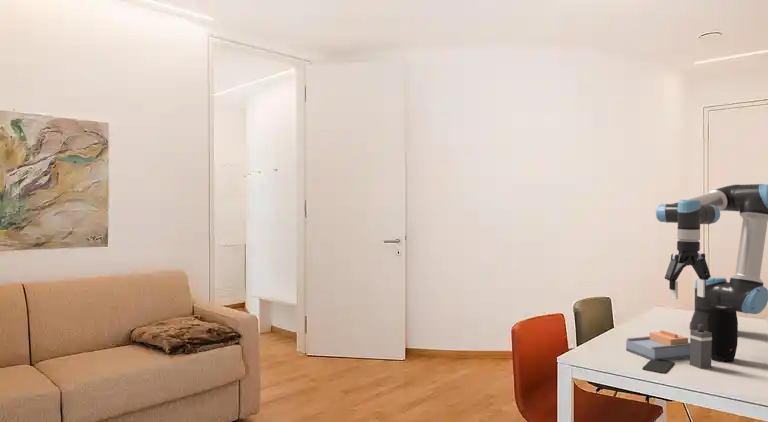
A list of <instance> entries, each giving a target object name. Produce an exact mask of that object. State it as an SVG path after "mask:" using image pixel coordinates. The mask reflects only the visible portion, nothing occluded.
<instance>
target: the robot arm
mask: <svg viewBox="0 0 768 422" xmlns="http://www.w3.org/2000/svg"><path fill="white" fill-rule="evenodd" d="M721 212H739V216H740V217H741V218H742V223H741V230H740V231H741V232H740V238H739V243H738V244H739V245H738V251H737V258H736V265H735V273H734V275H732V276H730V278H729V281H728V280H727V278H726V277H712V276H711V273H710V270H709V267H708V264H707V261H706V253H702V252H700V250H701V242H700V240H701V225H710V224H716V223H717V222H718V221H719V219H720V218H721ZM655 217H656V219H657V220H658V221H659V222H660V223H666V224H669V223H671V224H672V223H674V224H677V233H676V234H677V235H676V236H677V241H676V242H677V243H676V250H677V251H678V253H677V254H675V253H671V255H670V261H669V263H668V264H669V265H668V267H667V269H666V273H665V276H664V279H665V280H667V281H669V290H670V291H669V292H670V296H669V297H670V299H674V300H678V298H679V281H677V280H678V278H679V277H680V274H682V271H683V270H684V268H685V267H688V266H692V268H693V270H694V272H695V273H696V275H697V277H698V279H696V280H695V284H694V312H693V314H692V316H691V319H690V322H689V329H690V331H692V330H698V324H703V325H704V331H707V318H708V314H709V310H710V304H713V305H715V304H729V305H731V306H733V307H735V309H736V313H737V312H739V313H743V314H745V315H746V314H747V315H749V314H751V315H757V314H761V313H762V312H763V310H765V309H766V307H767V304H768V288H767V287H765V286H764V281H763V280H762V279H761V273H762V272H761V271H762V264H763V258H764V250H765V245H766V244H765V243H766V236H767V228H768V184H767V183H766V184H764V183H759V184H758V183H756V184H751V183H750V184H732V185H727V186H723V187H719V188H716V189H711V190H710V191H707V193H706V194H703V195H699V196H696V197H692V198H688V199H680V200H678V202H674V203H663V204H662V203H661V204H658V206H657V207H656V209H655Z"/></svg>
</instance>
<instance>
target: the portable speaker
mask: <svg viewBox="0 0 768 422" xmlns="http://www.w3.org/2000/svg"><path fill="white" fill-rule="evenodd" d="M738 329H739V321H738V315H737V311H736V309H735V307H733V306H731V305H729V304H715V305H713V304H710V310H709V314H708V318H707V332H711V333H712V349H711V361H715V362H722V363H723V362H724V361H730V362H731V363H732V362H735V357H736V353H737V348H738V336H739V335H738V334H739V333H738V332H739V331H738Z"/></svg>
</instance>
